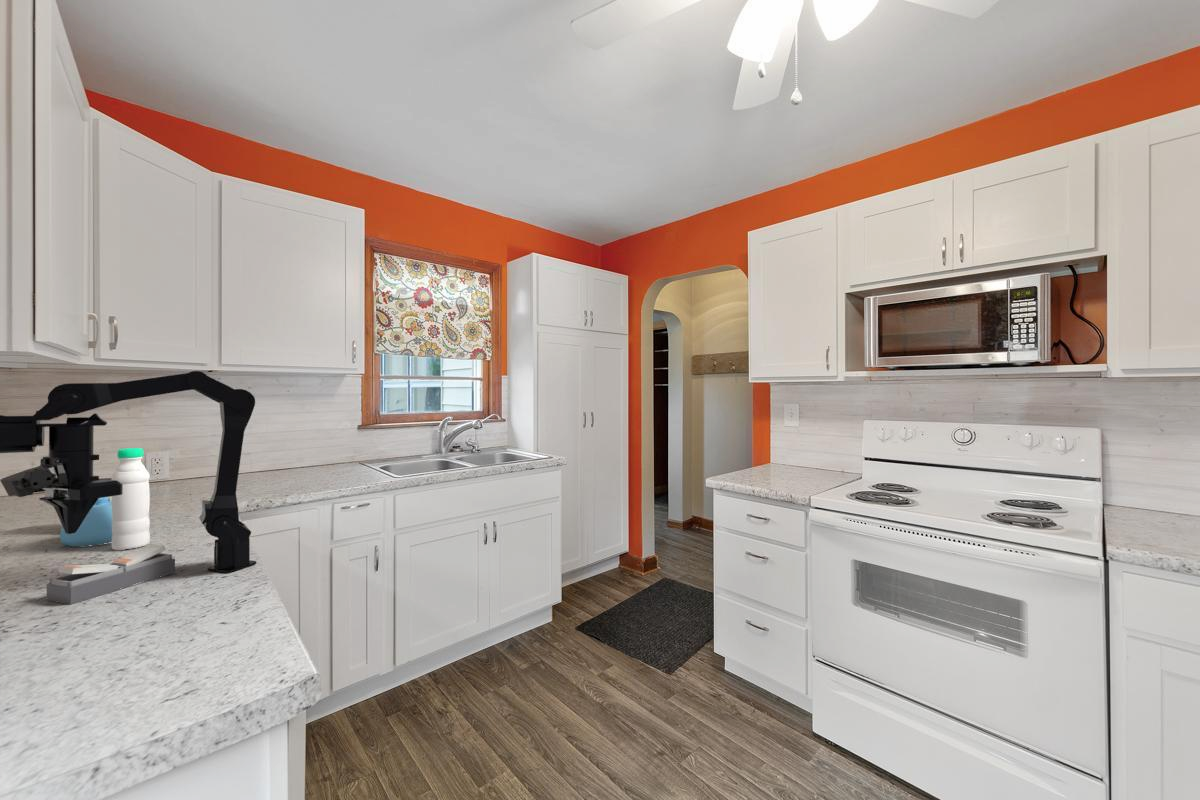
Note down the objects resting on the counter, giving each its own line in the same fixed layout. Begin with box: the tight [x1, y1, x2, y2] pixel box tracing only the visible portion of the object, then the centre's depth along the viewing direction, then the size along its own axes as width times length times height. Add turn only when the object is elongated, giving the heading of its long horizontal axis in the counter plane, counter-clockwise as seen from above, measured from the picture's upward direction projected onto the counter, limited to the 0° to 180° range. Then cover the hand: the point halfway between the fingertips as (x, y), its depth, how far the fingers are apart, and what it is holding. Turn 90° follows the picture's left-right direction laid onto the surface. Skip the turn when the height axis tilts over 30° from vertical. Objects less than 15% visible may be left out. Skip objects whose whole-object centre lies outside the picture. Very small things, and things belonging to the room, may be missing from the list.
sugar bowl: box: [59, 497, 113, 547], centre depth 131 cm, size 15×15×12 cm
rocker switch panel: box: [46, 552, 176, 605], centre depth 99 cm, size 7×17×4 cm, turn 163°
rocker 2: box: [112, 543, 166, 567], centre depth 103 cm, size 4×7×1 cm, turn 163°
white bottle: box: [110, 447, 151, 551], centre depth 124 cm, size 7×7×25 cm
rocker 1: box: [57, 563, 118, 575], centre depth 95 cm, size 4×7×1 cm, turn 163°
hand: (70, 533), depth 92 cm, fingers closed
